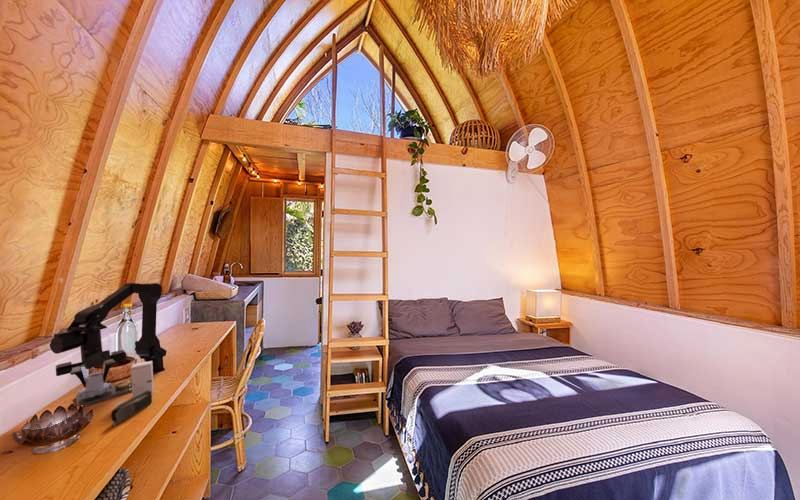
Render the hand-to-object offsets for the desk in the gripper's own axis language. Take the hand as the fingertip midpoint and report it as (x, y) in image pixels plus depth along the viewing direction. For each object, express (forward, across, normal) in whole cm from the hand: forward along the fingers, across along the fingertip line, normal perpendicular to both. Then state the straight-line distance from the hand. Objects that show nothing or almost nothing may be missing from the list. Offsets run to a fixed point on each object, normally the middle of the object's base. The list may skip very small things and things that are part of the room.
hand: (94, 384), depth 118 cm
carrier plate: (+5, +4, 0) cm, 6 cm away
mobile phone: (+5, +7, -27) cm, 29 cm away
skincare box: (+5, +12, -14) cm, 19 cm away
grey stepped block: (+3, 0, 0) cm, 3 cm away
